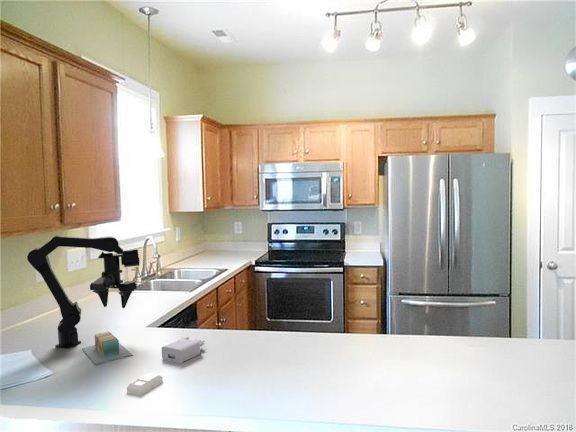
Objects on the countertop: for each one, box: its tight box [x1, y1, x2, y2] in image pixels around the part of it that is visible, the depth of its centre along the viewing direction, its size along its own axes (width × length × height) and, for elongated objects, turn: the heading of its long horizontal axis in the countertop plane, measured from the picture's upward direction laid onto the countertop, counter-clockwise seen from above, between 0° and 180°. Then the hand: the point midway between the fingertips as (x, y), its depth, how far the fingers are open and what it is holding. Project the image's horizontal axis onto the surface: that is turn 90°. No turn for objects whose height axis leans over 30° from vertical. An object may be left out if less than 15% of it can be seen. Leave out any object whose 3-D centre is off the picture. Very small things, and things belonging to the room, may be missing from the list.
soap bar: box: [126, 372, 164, 396], centre depth 120 cm, size 5×9×3 cm, turn 156°
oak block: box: [94, 331, 120, 358], centre depth 150 cm, size 5×5×13 cm
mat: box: [81, 342, 133, 366], centre depth 150 cm, size 20×12×1 cm, turn 37°
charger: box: [161, 338, 205, 364], centre depth 145 cm, size 5×9×15 cm
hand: (114, 307), depth 166 cm, fingers open, 9 cm apart
